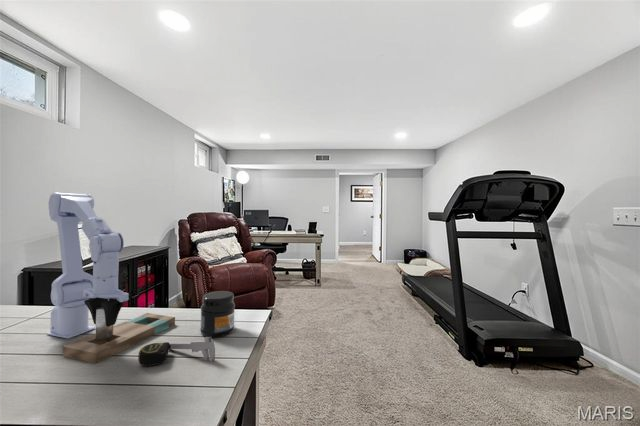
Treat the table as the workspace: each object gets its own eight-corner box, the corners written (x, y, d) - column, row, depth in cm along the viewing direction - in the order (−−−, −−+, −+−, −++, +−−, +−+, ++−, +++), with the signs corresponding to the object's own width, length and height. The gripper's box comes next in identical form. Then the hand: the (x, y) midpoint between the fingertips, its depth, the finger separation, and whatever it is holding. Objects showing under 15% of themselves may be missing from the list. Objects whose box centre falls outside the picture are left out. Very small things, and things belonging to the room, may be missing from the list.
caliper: (215, 361, 74) (215, 337, 74) (212, 363, 73) (212, 338, 73) (157, 346, 81) (158, 324, 81) (154, 348, 80) (154, 325, 80)
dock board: (62, 355, 74) (62, 346, 74) (147, 320, 99) (147, 312, 99) (96, 363, 71) (96, 353, 71) (174, 324, 96) (175, 317, 96)
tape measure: (165, 366, 71) (165, 352, 71) (134, 370, 69) (134, 355, 69) (171, 353, 77) (171, 340, 77) (142, 356, 75) (142, 342, 75)
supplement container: (239, 333, 91) (240, 296, 91) (205, 341, 84) (206, 302, 84) (228, 322, 99) (228, 288, 99) (196, 329, 93) (197, 293, 93)
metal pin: (91, 337, 78) (92, 308, 78) (106, 331, 82) (106, 304, 81) (102, 339, 77) (103, 310, 77) (116, 333, 80) (117, 305, 80)
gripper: (71, 276, 77) (70, 325, 77) (111, 281, 73) (110, 333, 73) (97, 271, 84) (96, 316, 84) (135, 275, 80) (134, 323, 80)
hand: (104, 324), depth 79 cm, fingers closed on metal pin, 4 cm apart
